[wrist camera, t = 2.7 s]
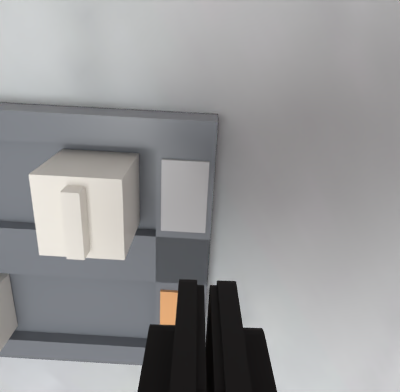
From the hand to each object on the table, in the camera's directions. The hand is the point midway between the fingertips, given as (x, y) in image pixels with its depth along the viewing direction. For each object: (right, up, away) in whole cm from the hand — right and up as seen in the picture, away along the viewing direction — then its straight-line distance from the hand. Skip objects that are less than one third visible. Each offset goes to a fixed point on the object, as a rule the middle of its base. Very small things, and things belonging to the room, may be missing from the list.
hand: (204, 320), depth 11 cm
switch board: (-10, +1, +12) cm, 16 cm away
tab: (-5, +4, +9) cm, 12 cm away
